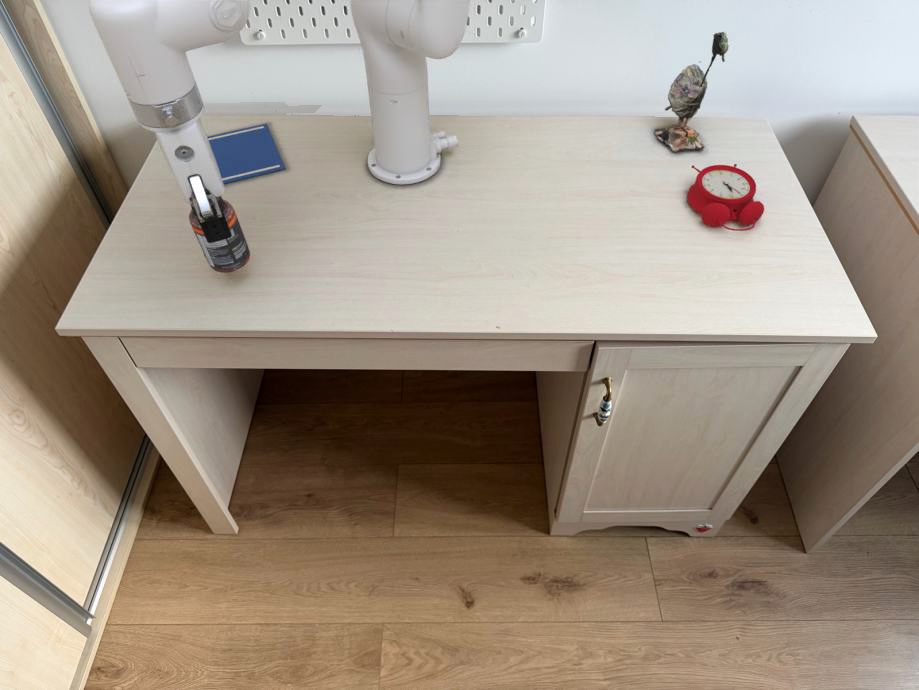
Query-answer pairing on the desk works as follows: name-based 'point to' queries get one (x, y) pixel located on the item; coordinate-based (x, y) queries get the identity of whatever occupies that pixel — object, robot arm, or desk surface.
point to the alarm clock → (725, 197)
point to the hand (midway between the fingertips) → (215, 222)
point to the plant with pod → (689, 100)
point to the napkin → (245, 153)
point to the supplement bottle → (227, 251)
